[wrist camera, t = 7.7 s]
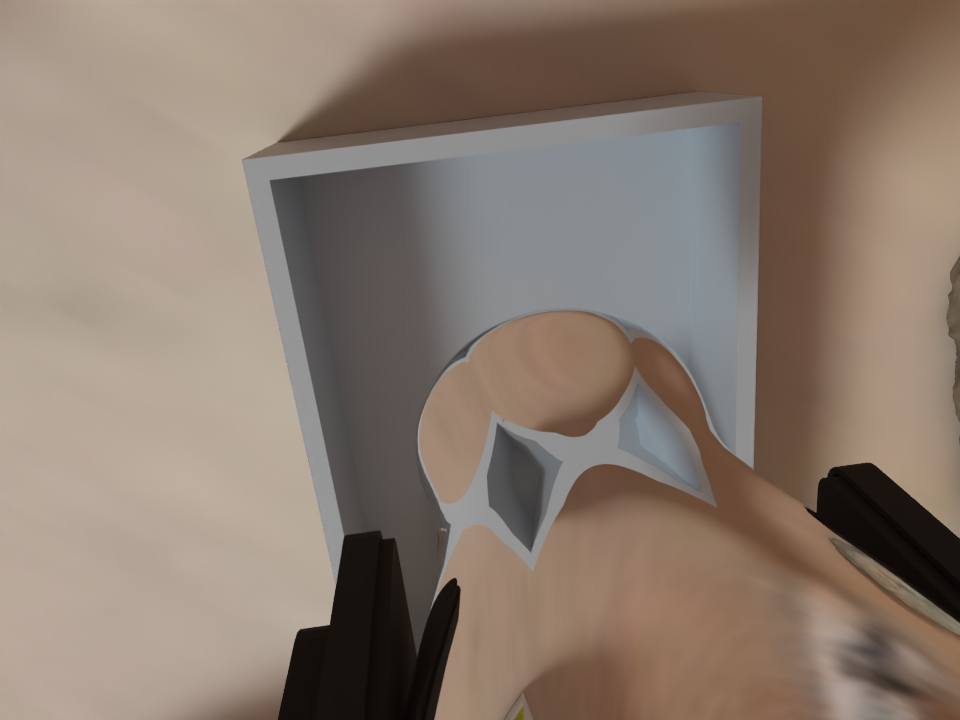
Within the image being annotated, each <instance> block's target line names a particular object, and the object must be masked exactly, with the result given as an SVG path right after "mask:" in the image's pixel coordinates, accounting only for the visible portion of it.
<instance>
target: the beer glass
mask: <svg viewBox="0 0 960 720" xmlns="http://www.w3.org/2000/svg"><path fill="white" fill-rule="evenodd" d="M415 455H416V464H417V470H418V474H419V479H420V483H421V487H422V490H423V493H424V496H425V499H426V502H427V505H428V507H429V510H430V512H431V515H432V518H433V520H434V523H435V525H436V528H437V530H438V533H439V537H440V548H439V564H438V569H437V574H436V578H435V583H434V588H433V593H432V598H431V603H430V607H429V611H428V615H427V619H426V623H425V627H424V631H423V635H422V639H421V643H420V647H419V651H418V655H417V659H416V664H415V668H414V672H413V677H412V681H411V685H410V690H409V694H408V698H407V703H406V707H405V711H404V716H403V720H960V618H959V617H957V616H956V615H955V614H954V613H952V612H951V611H950V610H948V609H947V608H946V607H945V606H943V605H942V604H941V603H940V602H938V601H937V600H936V599H935V598H933V597H932V596H931V595H929V594H928V593H927V592H926V591H924V590H923V589H922V588H921V587H919V586H918V585H917V584H916V583H914V582H913V581H912V580H910V579H909V578H908V577H906V576H905V575H903V574H902V573H901V572H899V571H898V570H896V569H895V568H893V567H892V566H891V565H889V564H888V563H886V562H885V561H884V560H882V559H881V558H879V557H878V556H877V555H875V554H874V553H872V552H871V551H869V550H868V549H867V548H865V547H864V546H862V545H861V544H860V543H858V542H857V541H855V540H854V539H852V538H851V537H850V536H848V535H847V534H845V533H844V532H843V531H841V530H840V529H838V528H837V527H835V526H834V525H833V524H831V523H830V522H828V521H827V520H826V519H824V518H823V517H821V516H820V515H818V514H817V513H815V512H814V511H812V510H811V509H810V508H808V507H807V506H805V505H804V504H802V503H801V502H799V501H798V500H796V499H795V498H793V497H792V496H791V495H789V494H788V493H786V492H785V491H783V490H782V489H780V488H779V487H777V486H776V485H774V484H773V483H772V482H770V481H769V480H767V479H766V478H764V477H763V476H762V475H760V474H759V473H758V472H756V471H755V470H754V469H752V468H751V467H750V466H748V465H747V464H746V463H744V462H743V461H742V460H740V459H739V458H738V457H737V456H736V455H735V454H734V453H733V452H732V451H731V450H730V449H729V448H728V447H727V446H726V445H725V444H724V443H723V442H722V440H721V439H720V438H719V436H718V434H717V432H716V430H715V428H714V426H713V423H712V420H711V418H710V415H709V412H708V410H707V407H706V404H705V402H704V399H703V397H702V395H701V392H700V390H699V388H698V386H697V384H696V382H695V380H694V378H693V376H692V374H691V373H690V371H689V370H688V368H687V366H686V365H685V364H684V362H683V361H682V360H681V358H680V357H679V356H678V355H677V353H676V352H675V351H674V350H673V349H672V348H671V347H670V346H669V345H668V344H667V343H666V342H665V341H664V340H663V339H661V338H660V337H659V336H658V335H656V334H655V333H653V332H652V331H651V330H649V329H647V328H646V327H644V326H642V325H641V324H639V323H637V322H635V321H633V320H630V319H628V318H625V317H623V316H620V315H617V314H614V313H611V312H607V311H603V310H598V309H592V308H584V307H554V308H546V309H540V310H535V311H531V312H527V313H523V314H520V315H517V316H514V317H512V318H509V319H507V320H504V321H502V322H500V323H498V324H496V325H494V326H492V327H490V328H489V329H487V330H485V331H484V332H482V333H480V334H479V335H477V336H476V337H475V338H473V339H472V340H471V341H469V342H468V343H467V344H466V345H465V346H463V347H462V348H461V349H460V350H459V351H458V352H457V353H456V354H455V355H454V356H453V357H452V358H451V359H450V361H449V362H448V363H447V364H446V365H445V367H444V368H443V369H442V371H441V372H440V373H439V375H438V376H437V378H436V379H435V381H434V383H433V385H432V386H431V388H430V390H429V392H428V394H427V397H426V399H425V401H424V404H423V406H422V409H421V412H420V415H419V419H418V423H417V429H416V437H415Z"/></svg>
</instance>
